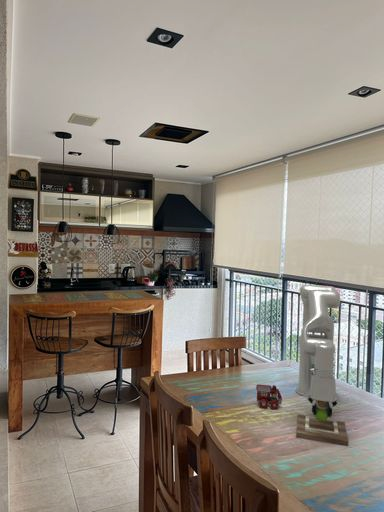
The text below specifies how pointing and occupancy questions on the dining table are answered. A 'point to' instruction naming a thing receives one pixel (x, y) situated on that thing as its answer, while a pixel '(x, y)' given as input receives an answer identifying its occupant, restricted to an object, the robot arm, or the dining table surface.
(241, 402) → the dining table surface
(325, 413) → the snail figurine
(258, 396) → the toy fire truck
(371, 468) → the dining table surface
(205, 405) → the dining table surface
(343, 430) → the board
